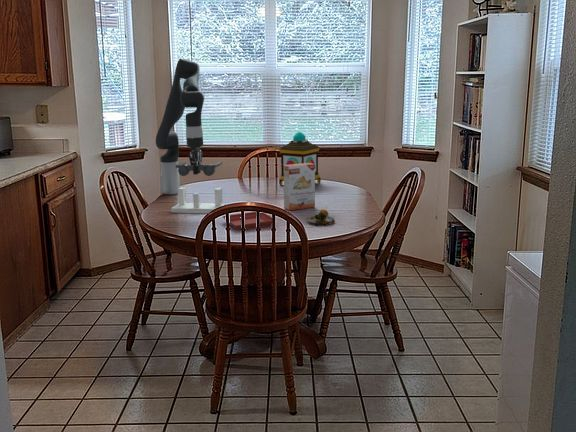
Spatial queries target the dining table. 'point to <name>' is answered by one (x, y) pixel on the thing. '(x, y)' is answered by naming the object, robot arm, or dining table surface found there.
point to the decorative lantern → (299, 154)
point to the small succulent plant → (321, 218)
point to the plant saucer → (250, 220)
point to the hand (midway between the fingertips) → (196, 173)
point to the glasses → (205, 168)
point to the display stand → (196, 202)
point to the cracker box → (299, 186)
